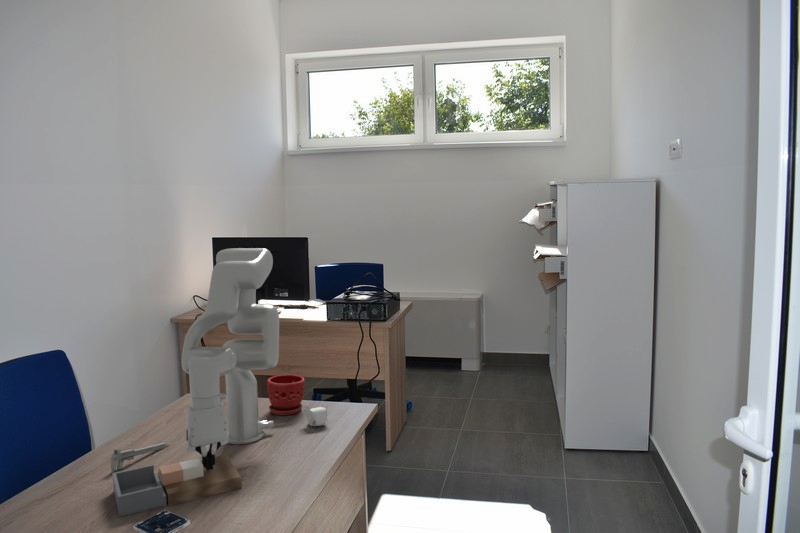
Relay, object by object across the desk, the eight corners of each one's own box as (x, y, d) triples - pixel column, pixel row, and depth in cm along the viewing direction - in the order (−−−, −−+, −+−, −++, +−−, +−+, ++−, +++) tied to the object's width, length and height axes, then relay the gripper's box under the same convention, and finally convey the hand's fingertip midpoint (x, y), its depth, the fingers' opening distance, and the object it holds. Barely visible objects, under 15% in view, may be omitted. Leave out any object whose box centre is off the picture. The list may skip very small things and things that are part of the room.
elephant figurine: (312, 432, 192) (311, 410, 192) (302, 423, 201) (301, 402, 200) (334, 427, 196) (333, 406, 195) (323, 418, 204) (322, 398, 204)
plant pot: (295, 419, 204) (294, 385, 203) (261, 415, 208) (260, 382, 207) (311, 406, 217) (310, 374, 216) (279, 403, 221) (278, 372, 220)
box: (157, 481, 159) (156, 463, 158) (166, 505, 146) (165, 485, 145) (113, 491, 153) (112, 473, 153) (119, 517, 141) (117, 497, 140)
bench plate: (226, 465, 168) (225, 454, 168) (241, 487, 155) (241, 476, 154) (158, 480, 159) (158, 469, 159) (168, 505, 146) (168, 494, 145)
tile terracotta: (179, 473, 157) (179, 462, 156) (183, 480, 152) (182, 469, 152) (159, 478, 154) (158, 466, 154) (162, 485, 150) (162, 474, 149)
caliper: (114, 474, 164) (112, 452, 164) (111, 473, 165) (109, 451, 164) (169, 446, 183) (168, 426, 183) (167, 445, 184) (166, 425, 183)
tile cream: (199, 469, 159) (198, 458, 159) (203, 476, 155) (203, 465, 155) (179, 473, 157) (179, 462, 156) (183, 480, 152) (183, 469, 152)
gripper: (230, 392, 163) (233, 456, 165) (173, 402, 155) (176, 469, 157) (238, 399, 157) (240, 466, 158) (178, 410, 149) (182, 480, 151)
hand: (208, 468), depth 158 cm, fingers closed
